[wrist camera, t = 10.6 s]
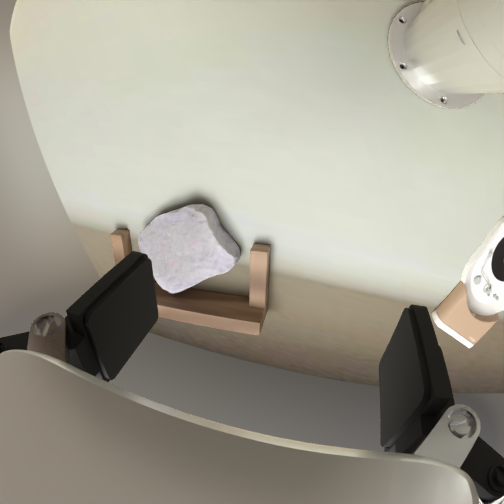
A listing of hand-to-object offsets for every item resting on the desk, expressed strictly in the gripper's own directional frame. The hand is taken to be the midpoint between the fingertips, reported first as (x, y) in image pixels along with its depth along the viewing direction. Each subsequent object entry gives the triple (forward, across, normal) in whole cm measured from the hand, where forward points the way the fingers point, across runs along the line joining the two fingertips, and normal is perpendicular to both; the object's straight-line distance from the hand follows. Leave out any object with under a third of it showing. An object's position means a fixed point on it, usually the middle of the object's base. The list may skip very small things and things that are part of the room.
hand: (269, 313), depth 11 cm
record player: (+26, -28, +9) cm, 39 cm away
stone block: (+25, +15, +11) cm, 31 cm away
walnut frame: (+24, +15, +16) cm, 32 cm away
